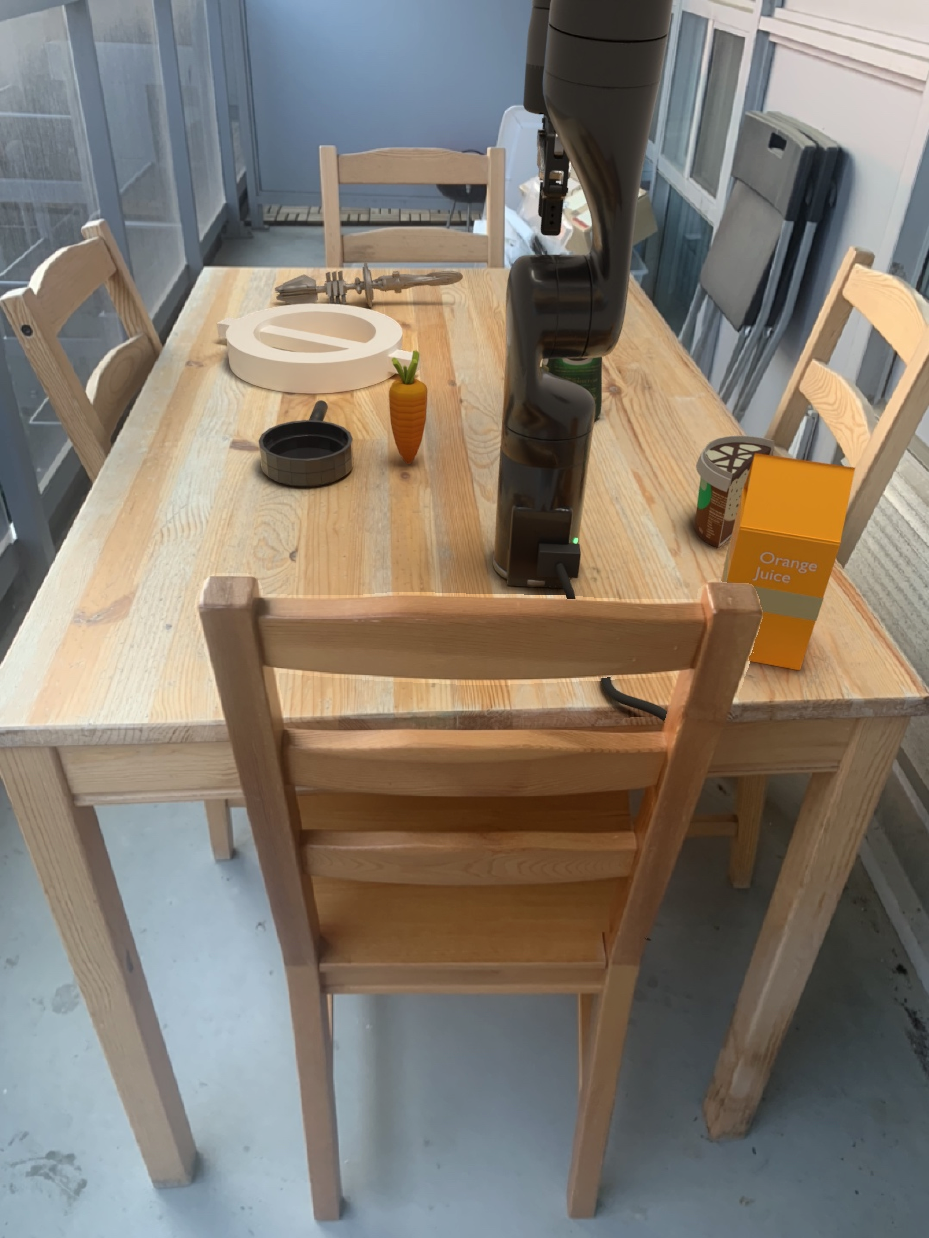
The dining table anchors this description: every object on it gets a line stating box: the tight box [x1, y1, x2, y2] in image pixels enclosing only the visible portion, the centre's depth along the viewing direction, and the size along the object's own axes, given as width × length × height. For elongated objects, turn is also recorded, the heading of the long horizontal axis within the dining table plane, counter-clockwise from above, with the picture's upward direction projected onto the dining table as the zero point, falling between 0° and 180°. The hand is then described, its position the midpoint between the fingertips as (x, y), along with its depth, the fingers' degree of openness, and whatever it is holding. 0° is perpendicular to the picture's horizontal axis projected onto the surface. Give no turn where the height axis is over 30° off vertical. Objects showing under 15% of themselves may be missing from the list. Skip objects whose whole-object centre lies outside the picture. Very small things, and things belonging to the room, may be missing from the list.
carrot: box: [388, 349, 428, 465], centre depth 117 cm, size 5×5×15 cm
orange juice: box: [720, 453, 856, 671], centre depth 87 cm, size 8×9×20 cm
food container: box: [694, 435, 776, 549], centre depth 108 cm, size 12×6×10 cm, turn 141°
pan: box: [258, 419, 355, 488], centre depth 119 cm, size 12×12×4 cm
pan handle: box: [308, 399, 329, 421], centre depth 125 cm, size 7×2×2 cm, turn 178°
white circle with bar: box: [216, 303, 421, 395], centre depth 149 cm, size 28×28×5 cm
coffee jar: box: [540, 357, 603, 420], centre depth 131 cm, size 10×8×19 cm
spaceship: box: [274, 261, 464, 308], centre depth 171 cm, size 8×35×8 cm
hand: (548, 225), depth 105 cm, fingers open, 8 cm apart
